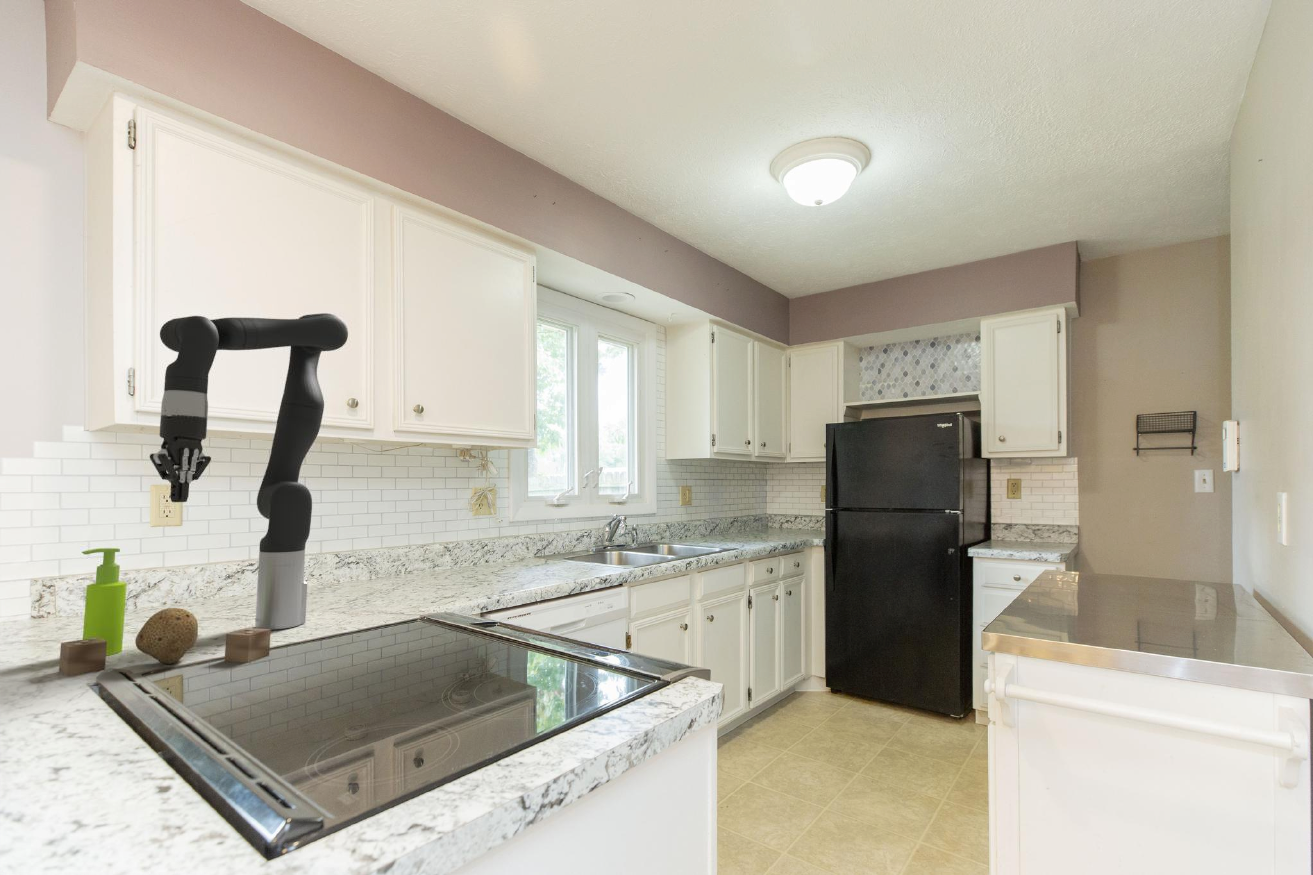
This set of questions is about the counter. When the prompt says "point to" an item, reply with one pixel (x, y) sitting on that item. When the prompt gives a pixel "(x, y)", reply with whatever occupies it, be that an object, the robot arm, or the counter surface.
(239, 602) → the counter surface
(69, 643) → the walnut block three pips
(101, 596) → the soap dispenser
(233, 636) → the walnut block two pips
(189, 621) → the natural sponge
